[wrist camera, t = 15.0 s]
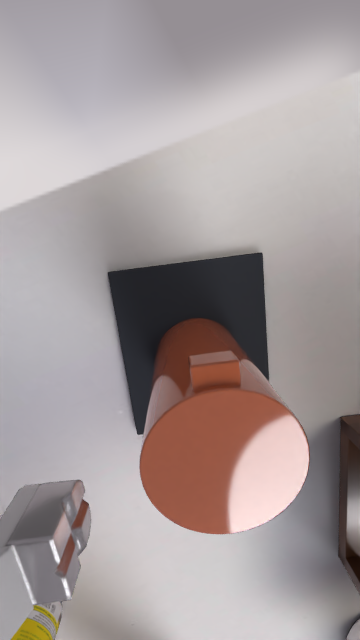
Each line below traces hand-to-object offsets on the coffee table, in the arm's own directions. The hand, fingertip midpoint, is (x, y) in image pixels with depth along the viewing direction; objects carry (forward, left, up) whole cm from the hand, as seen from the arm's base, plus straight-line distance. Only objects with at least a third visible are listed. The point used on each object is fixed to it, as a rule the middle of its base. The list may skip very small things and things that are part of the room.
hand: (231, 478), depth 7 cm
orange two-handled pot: (+1, 0, -12) cm, 12 cm away
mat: (0, 0, -12) cm, 12 cm away
